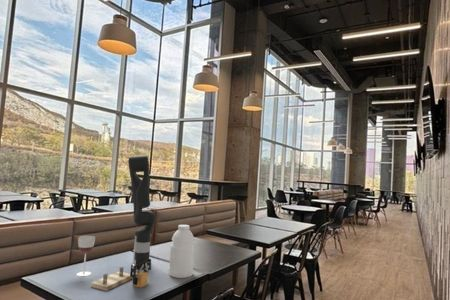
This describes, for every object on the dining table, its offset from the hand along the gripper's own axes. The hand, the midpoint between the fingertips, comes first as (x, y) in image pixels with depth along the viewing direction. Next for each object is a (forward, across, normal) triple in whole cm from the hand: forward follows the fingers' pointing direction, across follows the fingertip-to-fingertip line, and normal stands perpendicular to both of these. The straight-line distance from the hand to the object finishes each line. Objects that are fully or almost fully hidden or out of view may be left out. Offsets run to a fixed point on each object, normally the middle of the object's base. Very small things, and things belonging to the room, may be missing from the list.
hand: (140, 282), depth 159 cm
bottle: (+2, -25, +10) cm, 27 cm away
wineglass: (+2, +2, -36) cm, 36 cm away
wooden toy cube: (+2, 0, 0) cm, 2 cm away
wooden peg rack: (+2, +4, -14) cm, 15 cm away
